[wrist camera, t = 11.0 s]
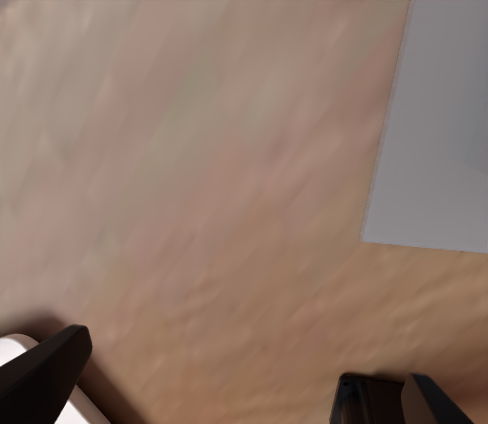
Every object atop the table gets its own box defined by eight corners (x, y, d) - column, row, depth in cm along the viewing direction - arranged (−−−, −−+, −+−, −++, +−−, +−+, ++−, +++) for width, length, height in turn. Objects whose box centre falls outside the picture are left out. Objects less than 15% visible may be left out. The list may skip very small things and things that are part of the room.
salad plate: (40, 308, 27) (7, 338, 24) (157, 447, 34) (144, 484, 31) (-90, 352, 34) (-129, 380, 30) (31, 462, 40) (9, 493, 37)
